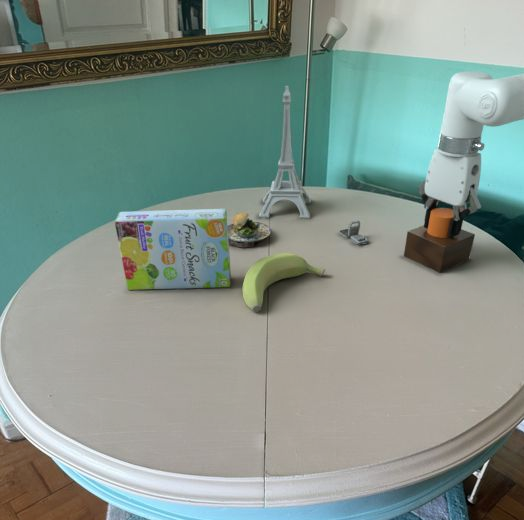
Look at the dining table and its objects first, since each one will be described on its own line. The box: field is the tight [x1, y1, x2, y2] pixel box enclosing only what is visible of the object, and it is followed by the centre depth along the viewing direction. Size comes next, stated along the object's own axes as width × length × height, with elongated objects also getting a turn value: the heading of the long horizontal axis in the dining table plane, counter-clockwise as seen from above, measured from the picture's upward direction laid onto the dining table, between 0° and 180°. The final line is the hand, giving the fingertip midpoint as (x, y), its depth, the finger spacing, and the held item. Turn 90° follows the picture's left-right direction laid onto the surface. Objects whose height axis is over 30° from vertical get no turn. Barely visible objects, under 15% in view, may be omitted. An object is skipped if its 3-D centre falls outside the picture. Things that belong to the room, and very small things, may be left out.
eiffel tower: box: [258, 85, 312, 220], centre depth 132 cm, size 13×13×30 cm
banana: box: [242, 252, 326, 313], centre depth 105 cm, size 14×6×20 cm
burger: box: [227, 212, 272, 249], centre depth 124 cm, size 12×12×8 cm
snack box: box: [114, 208, 232, 291], centre depth 104 cm, size 21×6×15 cm, turn 91°
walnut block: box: [403, 224, 476, 273], centre depth 114 cm, size 10×10×6 cm
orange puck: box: [427, 207, 454, 238], centre depth 111 cm, size 6×6×4 cm
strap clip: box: [339, 220, 369, 246], centre depth 123 cm, size 8×3×4 cm, turn 26°
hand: (441, 230), depth 112 cm, fingers closed on orange puck, 5 cm apart
